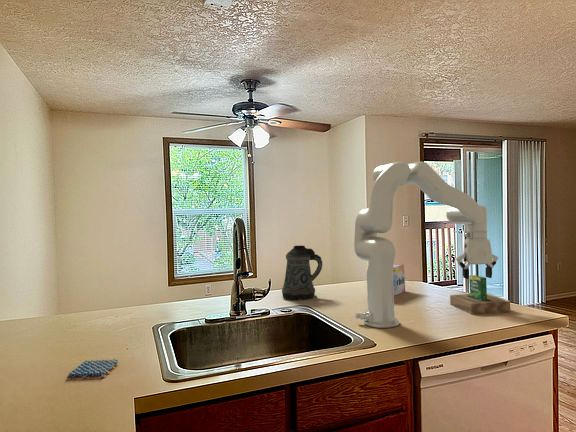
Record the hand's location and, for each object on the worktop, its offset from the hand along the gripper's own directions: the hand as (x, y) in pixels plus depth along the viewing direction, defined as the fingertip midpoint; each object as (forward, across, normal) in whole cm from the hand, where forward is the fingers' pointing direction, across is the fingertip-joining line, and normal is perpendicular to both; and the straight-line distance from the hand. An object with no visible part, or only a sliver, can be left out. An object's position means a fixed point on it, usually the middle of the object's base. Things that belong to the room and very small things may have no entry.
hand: (477, 277), depth 160 cm
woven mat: (+16, -135, -39) cm, 142 cm away
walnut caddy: (+12, +1, 0) cm, 12 cm away
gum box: (+13, -26, +33) cm, 44 cm away
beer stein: (+14, -67, +40) cm, 80 cm away
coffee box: (+13, 0, 0) cm, 13 cm away
